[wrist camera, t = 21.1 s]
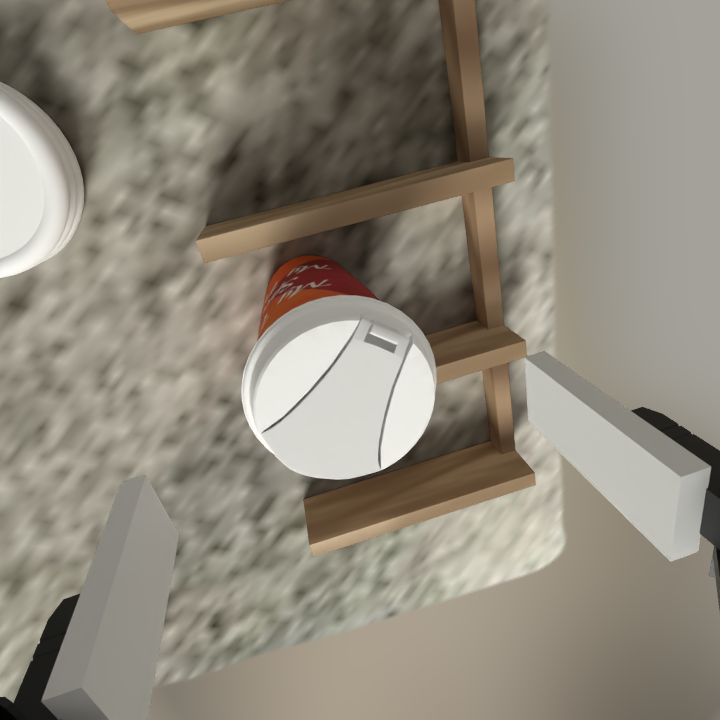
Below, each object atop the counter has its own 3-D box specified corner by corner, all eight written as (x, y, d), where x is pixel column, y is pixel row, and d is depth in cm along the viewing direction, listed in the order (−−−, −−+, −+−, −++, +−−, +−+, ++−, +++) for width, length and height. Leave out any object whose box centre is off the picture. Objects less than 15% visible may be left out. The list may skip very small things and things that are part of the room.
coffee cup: (277, 214, 29) (293, 268, 16) (390, 268, 32) (484, 353, 19) (228, 331, 32) (206, 464, 18) (337, 372, 35) (388, 513, 21)
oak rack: (126, 6, 24) (96, -26, 20) (452, -64, 25) (494, -110, 21) (307, 510, 39) (313, 556, 35) (505, 447, 41) (535, 484, 36)
